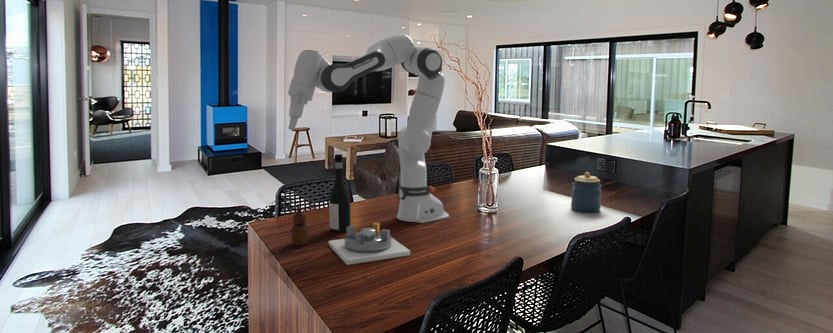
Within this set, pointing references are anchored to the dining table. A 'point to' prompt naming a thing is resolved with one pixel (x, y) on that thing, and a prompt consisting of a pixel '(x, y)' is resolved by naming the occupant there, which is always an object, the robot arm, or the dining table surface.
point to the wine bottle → (339, 200)
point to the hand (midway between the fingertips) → (291, 129)
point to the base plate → (357, 257)
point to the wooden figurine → (299, 228)
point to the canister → (586, 194)
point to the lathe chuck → (367, 239)
